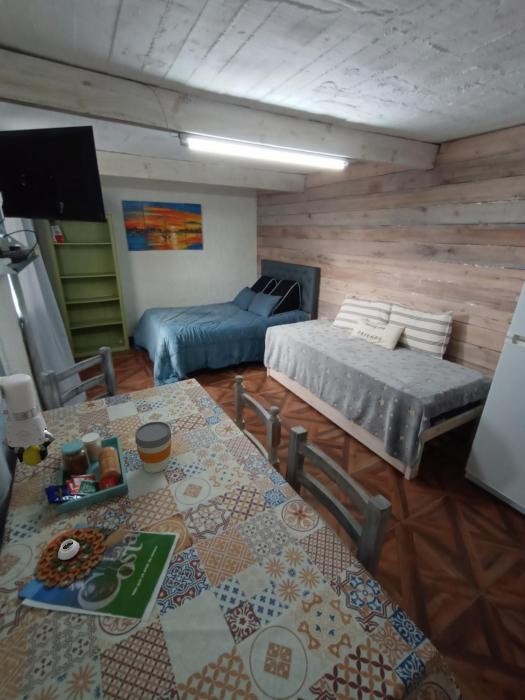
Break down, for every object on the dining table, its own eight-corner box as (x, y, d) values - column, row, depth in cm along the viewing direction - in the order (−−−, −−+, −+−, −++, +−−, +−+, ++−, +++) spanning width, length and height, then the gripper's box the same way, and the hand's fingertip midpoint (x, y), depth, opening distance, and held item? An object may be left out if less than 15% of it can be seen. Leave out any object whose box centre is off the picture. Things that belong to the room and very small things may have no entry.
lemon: (48, 464, 108) (44, 444, 106) (30, 473, 104) (25, 453, 101) (39, 458, 111) (35, 438, 108) (21, 466, 106) (17, 447, 104)
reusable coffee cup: (131, 471, 115) (126, 437, 110) (152, 450, 127) (148, 418, 121) (161, 479, 112) (157, 445, 107) (180, 457, 123) (177, 424, 118)
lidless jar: (77, 540, 90) (57, 550, 87) (75, 532, 89) (54, 542, 86) (81, 553, 86) (60, 564, 83) (79, 545, 85) (58, 556, 82)
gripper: (-15, 420, 95) (-2, 469, 101) (49, 416, 99) (58, 463, 105) (-3, 408, 102) (9, 454, 108) (58, 404, 106) (65, 449, 112)
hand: (33, 458), depth 106 cm, fingers closed on lemon, 5 cm apart
